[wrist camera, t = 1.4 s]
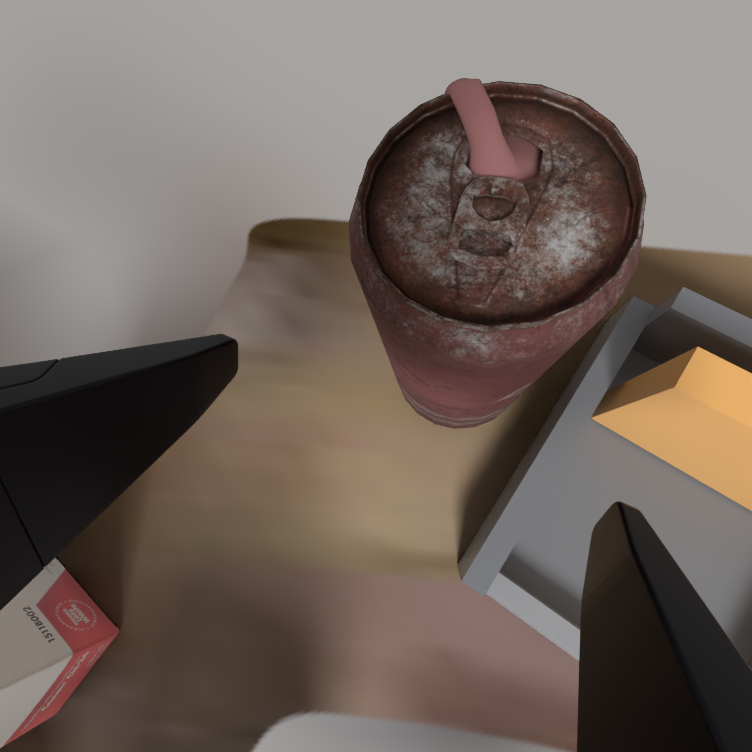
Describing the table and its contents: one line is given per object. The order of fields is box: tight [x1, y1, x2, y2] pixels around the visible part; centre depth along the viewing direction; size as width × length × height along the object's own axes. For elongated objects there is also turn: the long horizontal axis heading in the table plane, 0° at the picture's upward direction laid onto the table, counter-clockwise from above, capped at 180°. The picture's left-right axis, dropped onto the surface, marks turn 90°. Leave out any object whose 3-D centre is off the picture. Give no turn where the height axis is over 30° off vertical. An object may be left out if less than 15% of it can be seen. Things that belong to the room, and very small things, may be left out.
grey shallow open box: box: [457, 287, 752, 670], centre depth 16 cm, size 14×12×5 cm
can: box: [349, 78, 646, 429], centre depth 15 cm, size 6×6×14 cm
